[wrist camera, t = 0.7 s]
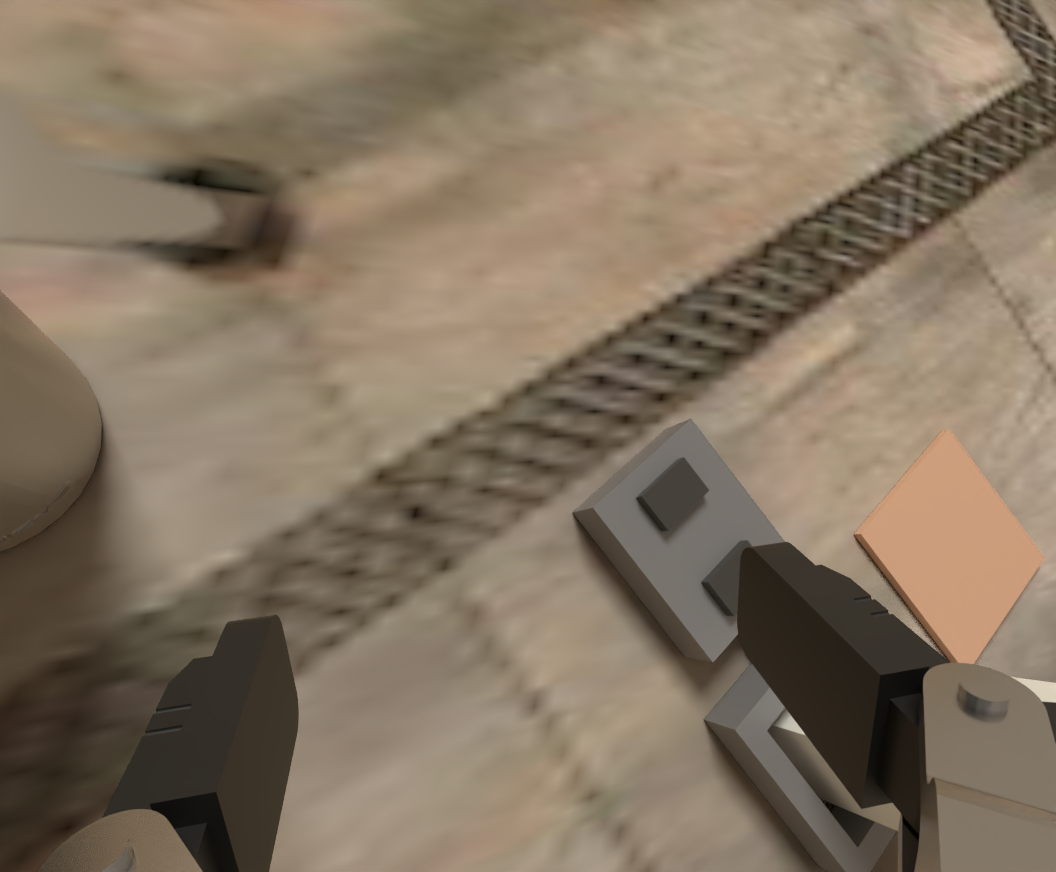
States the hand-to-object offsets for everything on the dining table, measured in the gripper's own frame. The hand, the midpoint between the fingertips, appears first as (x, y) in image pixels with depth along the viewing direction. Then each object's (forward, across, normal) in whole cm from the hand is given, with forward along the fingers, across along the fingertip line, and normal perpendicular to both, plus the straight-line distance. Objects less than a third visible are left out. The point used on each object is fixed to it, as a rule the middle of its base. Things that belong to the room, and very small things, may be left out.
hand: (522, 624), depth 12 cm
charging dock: (+17, -13, +15) cm, 26 cm away
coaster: (+21, -28, +14) cm, 38 cm away
